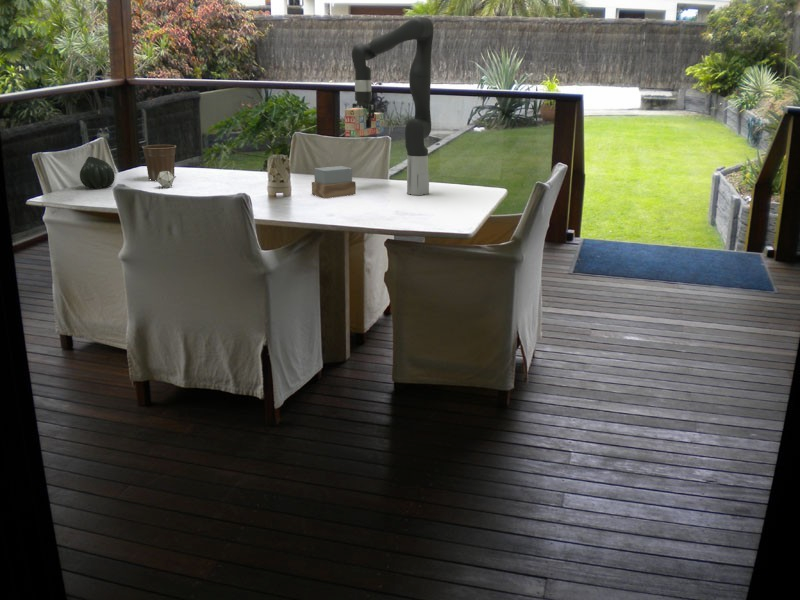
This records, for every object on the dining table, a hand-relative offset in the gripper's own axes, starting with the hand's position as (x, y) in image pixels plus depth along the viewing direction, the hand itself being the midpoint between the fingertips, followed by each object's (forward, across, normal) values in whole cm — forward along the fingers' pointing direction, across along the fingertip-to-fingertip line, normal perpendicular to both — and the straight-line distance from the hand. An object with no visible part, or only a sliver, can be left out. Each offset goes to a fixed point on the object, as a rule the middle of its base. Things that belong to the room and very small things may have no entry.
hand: (363, 127), depth 389 cm
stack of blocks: (+4, 0, -1) cm, 4 cm away
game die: (+28, +56, +73) cm, 96 cm away
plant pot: (+28, +79, +65) cm, 106 cm away
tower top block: (+22, -7, +22) cm, 32 cm away
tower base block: (+28, -7, +22) cm, 36 cm away
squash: (+28, +75, +98) cm, 127 cm away
